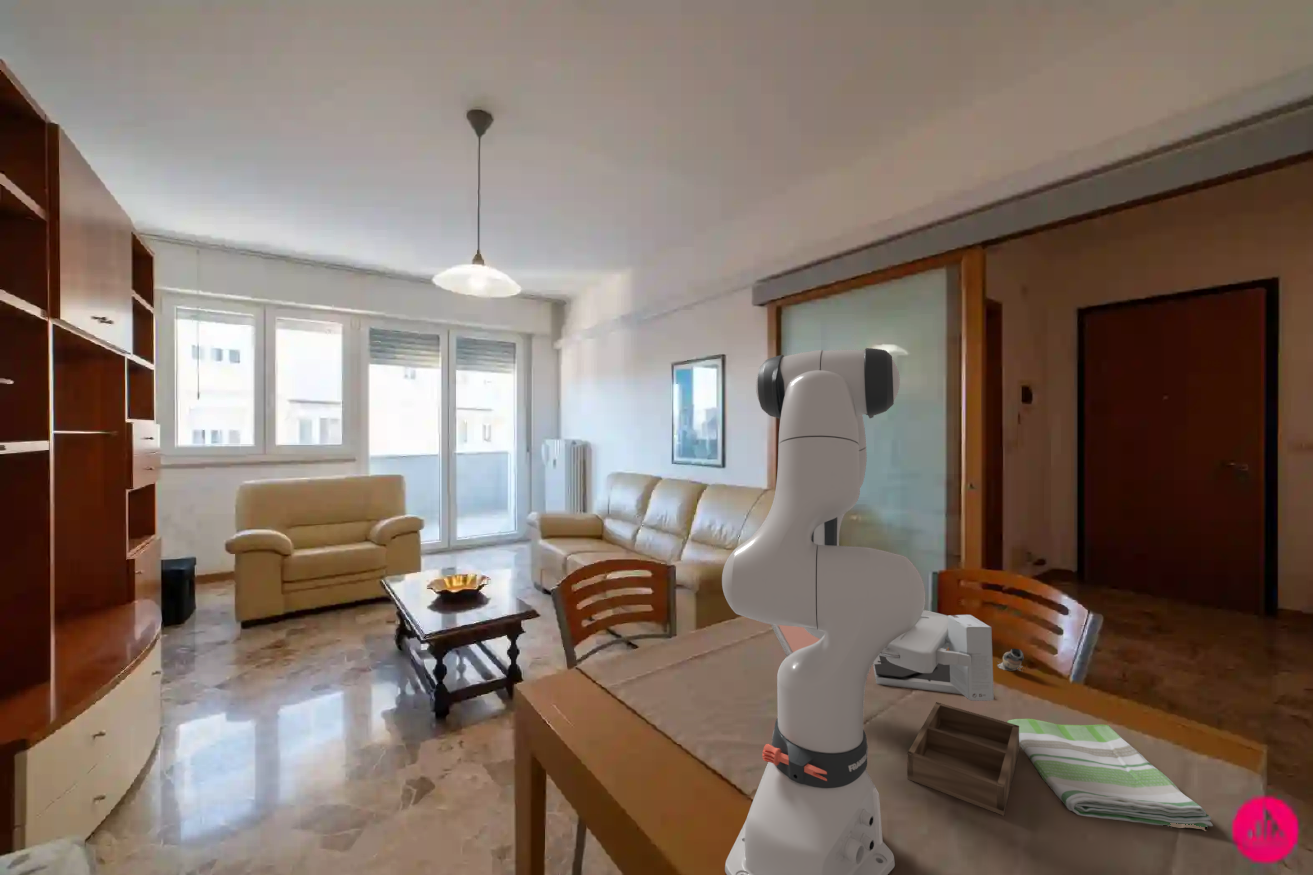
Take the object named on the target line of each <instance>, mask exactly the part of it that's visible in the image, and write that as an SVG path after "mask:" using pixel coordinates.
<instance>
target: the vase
mask: <svg viewBox="0 0 1313 875" xmlns="http://www.w3.org/2000/svg"><path fill="white" fill-rule="evenodd" d="M1024 659H1025V657H1024V652H1023V651H1022V650H1021V649H1018V648H1011V649H1010V651H1006V652H1005V653H1004V654H1003V655H1002V661H1001V662H1000V661H996V662H997V663H999V664H997V668H998V669H1000V670H1003V671H1008V672H1009V671H1012V672H1013V671H1016V670H1017V671H1020V672H1022V670H1021V668H1022V667H1023V668H1024V666H1023V665H1022V662H1023V661H1024ZM1018 668H1019V669H1018Z"/></svg>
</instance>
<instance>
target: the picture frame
mask: <svg viewBox="0 0 1313 875" xmlns="http://www.w3.org/2000/svg"><path fill="white" fill-rule="evenodd" d="M872 667H873V673H874V678H875V683H876V685H882V686H883V685H884V686H890V687H899V688H900V687H901V688H906V689H907V688H908V689H914V690H915V689H916V690H923V691H933V692H941V693H946V694H947V693H948V694H951V693H952V694H958V695H963V694H962V693H961V692H960V691H959V690H957V689H956V688H955V687H954V686H953V685H952V684H951V683H950V665H943V664H939V663H938V664H937V666H936V667H935V669H934V670H933V672H932V673H920V672H916V671H913V670H910V669H907V668H904V667H901V666H898V665H895V664H893V663H891V662H889V661H888V660H887V659H886V657H884V656H880V655H878V656H877V658H876V659H875V661H874V663H873V664H872Z"/></svg>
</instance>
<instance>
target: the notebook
mask: <svg viewBox="0 0 1313 875" xmlns="http://www.w3.org/2000/svg"><path fill="white" fill-rule="evenodd" d="M770 626H771V628H772V629H773V632H774V634H775V636H776V637H777V639H778V642H779V643H780V645H781V648H782V649H783V652H784V654H785V657H788V656H789V655H790V654H792V653H793V652H795V651H797V650H799V649H801V648H804V647H807V646H810V645H812V644H814V643H816V642H817V641H819V640H820V639H819V638H817V637H815V636H813V635H811V634H810V633H808V632H807V631H806V630H805V628H804V627H794V626H785V625H775V624H770Z"/></svg>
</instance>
